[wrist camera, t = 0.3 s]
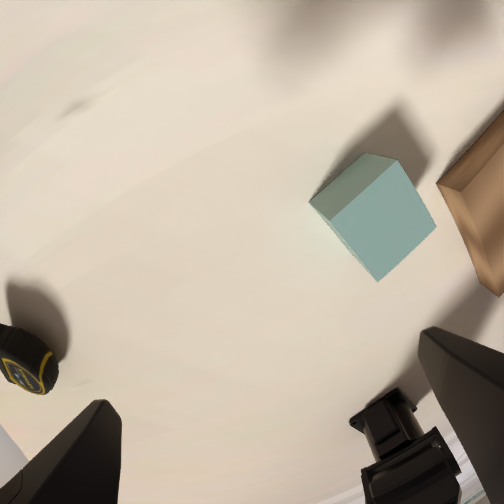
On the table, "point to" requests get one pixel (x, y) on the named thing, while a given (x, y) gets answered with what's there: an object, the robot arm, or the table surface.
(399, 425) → the robot arm
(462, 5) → the table surface
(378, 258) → the slate block
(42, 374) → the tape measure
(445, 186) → the walnut plinth
